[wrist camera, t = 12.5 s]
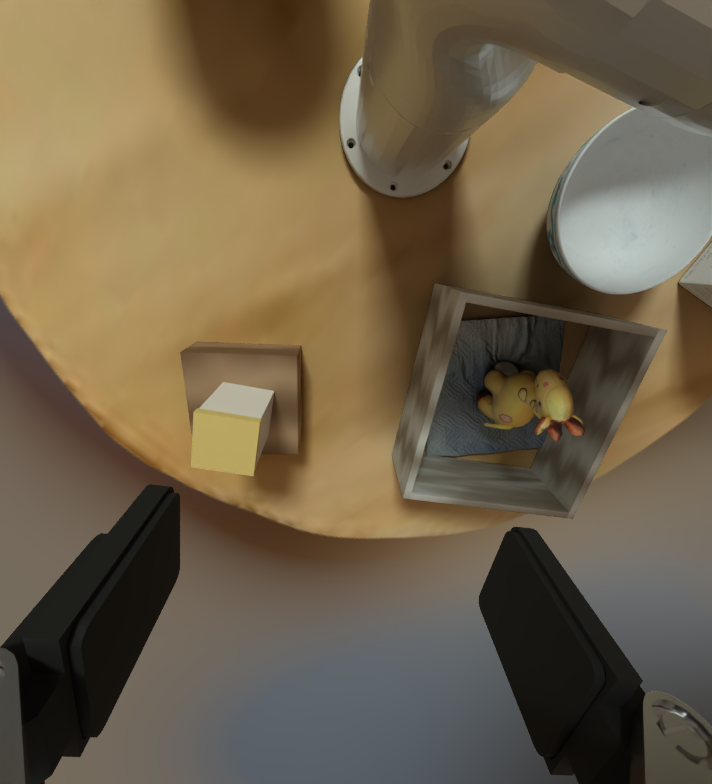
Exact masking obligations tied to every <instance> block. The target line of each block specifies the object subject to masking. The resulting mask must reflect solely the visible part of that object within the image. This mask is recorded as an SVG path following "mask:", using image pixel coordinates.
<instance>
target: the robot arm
mask: <svg viewBox="0 0 712 784" xmlns="http://www.w3.org/2000/svg"><path fill="white" fill-rule="evenodd" d="M537 62H539V63H541V64H543V65H545V66H547V67H549V68H551V69H553V70H555V71H557V72H559V73H567V74H569V75H571V76H573V77H575V78H577V79H579V80H581V81H583V82H585V83H587V84H589V85H591V86H593V87H595V88H597V89H599V90H601V91H603V92H605V93H607V94H609V95H611V96H613V97H615V98H617V99H619V100H621V101H623V102H625V103H627V104H629V105H631V106H633V107H635V108H637V109H639V110H641V111H643V112H645V113H647V114H649V115H651V116H653V117H656V118H658V119H660V120H662V121H664V122H667V123H669V124H671V125H673V126H676V127H678V128H681V129H683V130H686V131H689V132H691V133H695V134H700V135H704V136H711V137H712V0H370V3H369V11H368V19H367V27H366V35H365V43H364V52H363V56H362V57H361V58H360V59H359V60H358V61H357V63H356V64H355V66H354V67H353V69H352V71H351V72H350V74H349V76H348V79H347V81H346V84H345V86H344V89H343V93H342V98H341V102H340V111H339V131H340V137H341V142H342V147H343V149H344V152H345V155H346V158H347V160H348V162H349V164H350V165H351V167H352V169H353V171H354V172H355V173H356V174H357V176H358V177H359V178H360V179H361V180H362V181H363V182H364V183H365V184H366V185H368V186H369V187H370V188H371V189H373V190H375V191H377V192H379V193H381V194H382V195H386V196H390V197H394V198H409V197H415V196H419V195H421V194H424V193H426V192H429V191H430V190H432V189H433V188H435V187H437V186H438V185H439V184H440V183H442V182H443V181H444V180H445V179H447V177H448V176H449V175H450V174H451V173H452V172H453V171H454V170H455V168H456V166H457V165H458V163H459V162H460V160H461V158H462V157H463V154H464V152H465V150H466V147H467V145H468V142H469V138H470V136H471V135H472V134H473V133H474V132H475V131H476V130H477V129H479V128H480V127H481V126H482V125H483V124H484V123H485V122H487V121H488V120H489V119H490V118H491V117H492V116H493V115H495V114H496V113H497V112H498V111H499V110H500V109H501V108H502V107H503V106H504V105H505V104H506V103H507V102H508V101H510V99H511V98H512V97H513V96H514V95H515V94H516V93H517V92H518V91H519V89H520V88H521V87H522V85H523V84H524V83H525V82H526V80H527V79H528V77H529V75H530V74H531V72H532V71H533V69H534V67H535V65H536V64H537ZM360 73H361V76H360V77H359V74H360ZM350 143H352V144H353V145H354V147H353V148H349V146H348V145H349V144H350ZM444 164H446V165H447V170H445V169H444V168H443V165H444ZM392 185H393V186H395V190H394V191H392V190H391V188H390V187H391V186H392ZM179 570H180V495H179V494H178V493H174V490H173V487H168V486H160V485H152V484H150V485H148V486H147V487H146V488H145V489H144V490H143V491H142V493H141V494H140V495H139V496H138V497H137V499H136V500H135V501H134V502H133V503H132V505H131V506H130V507H129V508H128V510H127V511H126V512H125V513H124V515H123V516H122V517H121V518H120V519H119V521H118V522H117V523H116V524H115V526H114V527H113V528H112V529H111V530H110V532H109V533H108V534H99V535H97V536H96V537H95V538H94V539H93V540H92V541H91V542H90V543H89V544H88V545H87V546H86V548H85V549H84V550H83V551H82V552H81V554H80V555H79V556H78V557H77V558H76V559H75V561H74V562H73V563H72V564H71V565H70V566H69V568H68V569H67V570H66V571H65V572H64V574H63V575H62V576H61V577H60V578H59V579H58V580H57V582H56V583H55V584H54V585H53V586H52V587H51V589H50V590H49V591H48V592H47V593H46V594H45V596H44V597H43V598H42V599H41V600H40V602H39V603H38V604H37V605H36V606H35V607H34V608H33V610H32V611H31V612H30V613H29V614H28V616H27V617H26V618H25V619H24V620H23V621H22V623H21V624H20V625H19V626H18V627H17V628H16V630H15V631H14V632H13V633H12V634H11V635H10V637H9V638H8V639H7V640H6V641H5V643H4V644H3V645H2V646H1V647H0V784H45V780H46V779H47V778H48V777H50V776H51V775H52V774H53V772H54V770H55V768H56V766H57V765H58V763H59V761H60V759H61V757H62V756H67V757H80V756H81V754H82V752H83V750H84V748H85V746H86V744H87V743H88V740H89V739H90V737H97V736H98V735H99V734H100V733H101V731H102V730H103V728H104V726H105V724H106V722H107V720H108V718H109V716H110V714H111V712H112V710H113V708H114V706H115V704H116V702H117V700H118V698H119V696H120V694H121V692H122V690H123V688H124V686H125V684H126V682H127V680H128V678H129V676H130V674H131V672H132V669H133V668H134V665H135V664H136V662H137V660H138V657H139V656H140V654H141V652H142V650H143V647H144V645H145V643H146V641H147V639H148V637H149V635H150V633H151V631H152V629H153V627H154V625H155V623H156V621H157V619H158V617H159V615H160V613H161V611H162V609H163V607H164V605H165V603H166V600H167V599H168V597H169V594H170V592H171V591H172V589H173V587H174V585H175V583H176V580H177V578H178V574H179ZM479 606H480V610H481V612H482V615H483V617H484V620H485V622H486V625H487V627H488V630H489V633H490V635H491V638H492V640H493V643H494V645H495V648H496V650H497V653H498V655H499V658H500V660H501V663H502V665H503V668H504V671H505V673H506V676H507V678H508V681H509V683H510V686H511V688H512V691H513V693H514V696H515V699H516V701H517V704H518V706H519V709H520V711H521V714H522V716H523V719H524V721H525V724H526V727H527V729H528V732H529V734H530V737H531V739H532V742H533V744H534V747H535V749H536V751H537V752H538V754H540V755H541V756H543V757H544V759H545V762H546V764H547V767H548V769H549V772H550V774H551V775H573V774H575V776H576V778H577V781H578V783H579V784H712V727H711V726H710V725H709V724H708V723H707V722H706V721H705V720H704V719H703V718H702V717H701V716H700V715H699V714H698V713H697V712H695V711H694V710H693V709H692V708H690V707H689V706H688V705H686V704H685V703H684V702H682V701H681V700H679V699H677V698H675V697H673V696H671V695H669V694H666V693H663V692H659V691H650V692H649V693H647V694H645V693H644V691H643V690H642V688H641V687H640V684H641V683H642V681H643V680H642V679H641V678H640V676H639V675H638V673H637V672H636V670H635V669H634V668H633V666H632V665H631V663H630V662H629V661H628V659H627V658H626V657H625V655H624V653H623V652H622V651H621V649H620V648H619V646H618V645H617V644H616V642H615V641H614V639H613V638H612V636H611V635H610V634H609V632H608V631H607V629H606V628H605V627H604V625H603V624H602V622H601V621H600V620H599V618H598V617H597V615H596V614H595V612H594V611H593V610H592V608H591V607H590V605H589V604H588V603H587V601H586V600H585V598H584V597H583V595H582V594H581V593H580V591H579V590H578V588H577V587H576V585H575V584H574V583H573V581H572V580H571V578H570V577H569V576H568V574H567V573H566V571H565V570H564V568H563V567H562V566H561V564H560V563H559V561H558V560H557V559H556V557H555V556H554V554H553V553H552V551H551V550H550V549H549V547H548V546H547V544H546V543H545V542H544V540H543V539H542V537H541V536H540V535H539V533H538V532H537V531H536V530H534V529H530V528H522V527H513V528H512V529H511V531H508V532H506V534H505V536H504V538H503V541H502V543H501V545H500V548H499V550H498V553H497V555H496V557H495V559H494V562H493V564H492V567H491V569H490V571H489V574H488V576H487V579H486V581H485V583H484V585H483V588H482V590H481V593H480V595H479Z"/></svg>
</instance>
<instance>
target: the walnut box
mask: <svg viewBox="0 0 712 784" xmlns="http://www.w3.org/2000/svg"><path fill="white" fill-rule="evenodd" d="M180 353H181V360H182V368H183V375H184V382H185V389H186V397H187V404H188V411H189V418H190V426H191V433H192V436H193V413H194V411H195V410H196V409H197V408H200V407H201V406H202V405H203V403H204V402H205V401H206V400H207V399H208V398H209V397H210V396H211V395H212V394H213V393H214V391H215V390H216V389H217V388H218V387H219V386H220V385H221V384H222V383H223V382H226V383H232V384H238V385H243V386H249V387H255V388H261V389H267V390H272V391H274V398H273V406H272V413H271V421H270V429H269V435H268V438H267V440H266V443H265V445H264V448H263V450H262V453H261V454H298V453H299V448H300V443H301V438H302V380H301V345H273V344H245V343H217V342H196V343H194V344H193V345H191V346H190V347H188V348H186V349H185V350H183V351H182V352H180Z"/></svg>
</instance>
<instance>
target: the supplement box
mask: <svg viewBox="0 0 712 784" xmlns="http://www.w3.org/2000/svg"><path fill="white" fill-rule="evenodd" d="M679 284H680V285H681V286H682V287H684V288H685V289H687V290H688V291H689V292H691V293H692V294H693V295H695V296H696V297H698V298H699V299H700V300H702V301H703V302H705V303H706V304H707V305H709V306H710V307H712V242H711V244H710V245H709V246H708V247H707V248H706V249H705V251H704V252H703V253H702V254H701V255H700V257H699V258H698V259H697V260H696V261H695V263H694V264H693V265H692V266H691V267H690V269H689V270H688V271H687V272H686V273H685V274H684V276H683V277H682V278H681V279H680V281H679Z"/></svg>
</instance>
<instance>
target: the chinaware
mask: <svg viewBox="0 0 712 784" xmlns="http://www.w3.org/2000/svg"><path fill="white" fill-rule="evenodd" d="M547 236H548V241H549V245H550V248H551V250H552V253H553V255H554V257H555V259H556V260H557V262H558V263H559V265H560V266H561V267H562V268H563V270H564V271H565V272H566V273H567V274H568V275H570V276H571V277H572V278H573V279H575V280H576V281H578V282H579V283H581V284H582V285H584V286H586V287H588V288H590V289H593V290H595V291H598V292H602V293H606V294H615V295H623V294H632V293H637V292H641V291H644V290H647V289H650V288H652V287H655V286H657V285H659V284H661V283H663V282H665V281H666V280H668V279H670V278H671V277H673V276H674V275H675V274H677V273H678V272H679V271H681V270H682V269H683V268H684V267H685V266H687V265H688V264H689V263H690V262H691V261H692V260H693V259H694V258H695V257H696V256H697V255H698V253H699V252H700V251H701V250H702V249H703V247H704V246H705V245H706V243H707V242H708V241H709V239H710V238H711V236H712V137H711V136H704V135H700V134H695V133H691V132H689V131H686V130H683V129H681V128H678V127H676V126H673V125H671V124H669V123H667V122H664V121H662V120H660V119H658V118H656V117H653V116H651V115H649V114H647V113H645V112H643V111H641V110H639V109H637V108H635V107H634V108H632V109H630V110H628V111H626V112H624V113H623V114H621V115H619V116H618V117H616V118H615V119H613V120H612V121H610V122H609V123H608V124H606V125H605V126H604V127H603V128H601V129H600V130H599V131H598V132H597V133H596V134H594V135H593V136H592V137H591V138H590V139H589V140H588V141H587V142H586V143H585V144H584V145H583V146H582V147H581V148H580V150H579V151H578V152H577V153H576V154H575V155H574V157H573V158H572V159H571V161H570V162H569V163H568V165H567V166H566V168H565V169H564V171H563V173H562V174H561V176H560V178H559V180H558V182H557V184H556V186H555V188H554V191H553V193H552V196H551V199H550V203H549V207H548V213H547Z"/></svg>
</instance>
